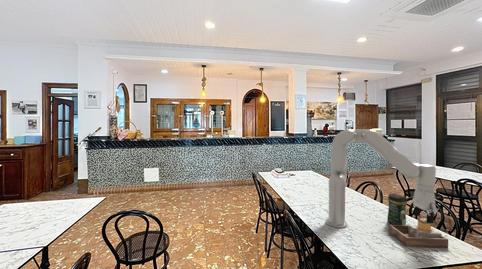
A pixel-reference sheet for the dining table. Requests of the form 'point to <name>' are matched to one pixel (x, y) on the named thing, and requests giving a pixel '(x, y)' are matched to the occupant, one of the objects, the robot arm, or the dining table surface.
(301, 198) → the dining table surface
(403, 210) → the coffee jar
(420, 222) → the connector
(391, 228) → the walled box
